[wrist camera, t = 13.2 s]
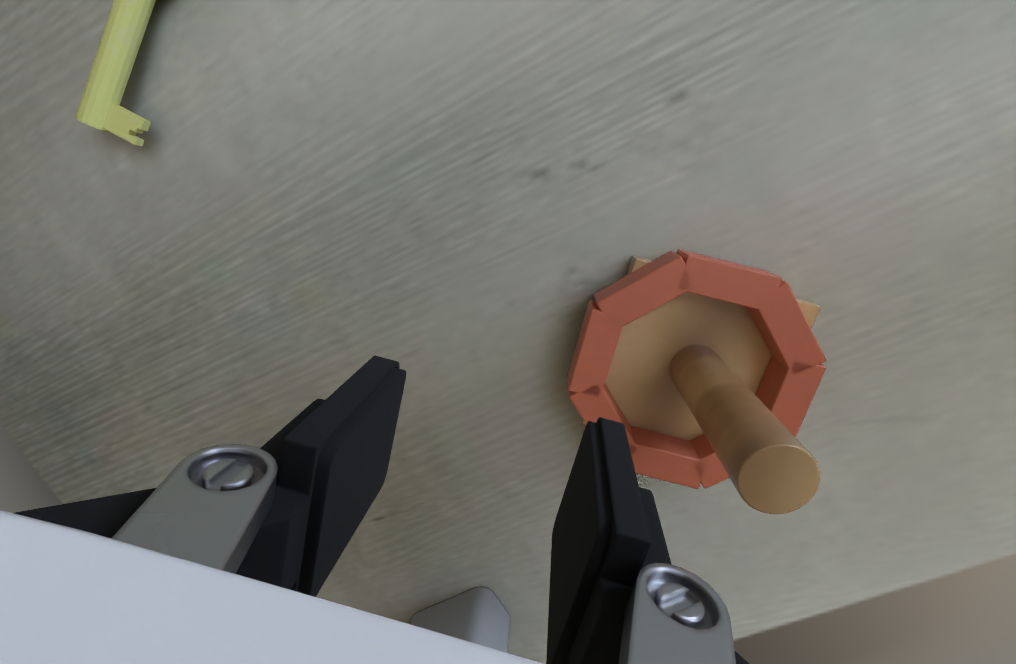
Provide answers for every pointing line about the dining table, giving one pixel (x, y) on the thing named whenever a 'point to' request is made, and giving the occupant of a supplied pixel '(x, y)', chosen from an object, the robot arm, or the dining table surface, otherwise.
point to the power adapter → (469, 618)
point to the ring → (675, 274)
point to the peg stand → (712, 393)
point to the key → (116, 72)
